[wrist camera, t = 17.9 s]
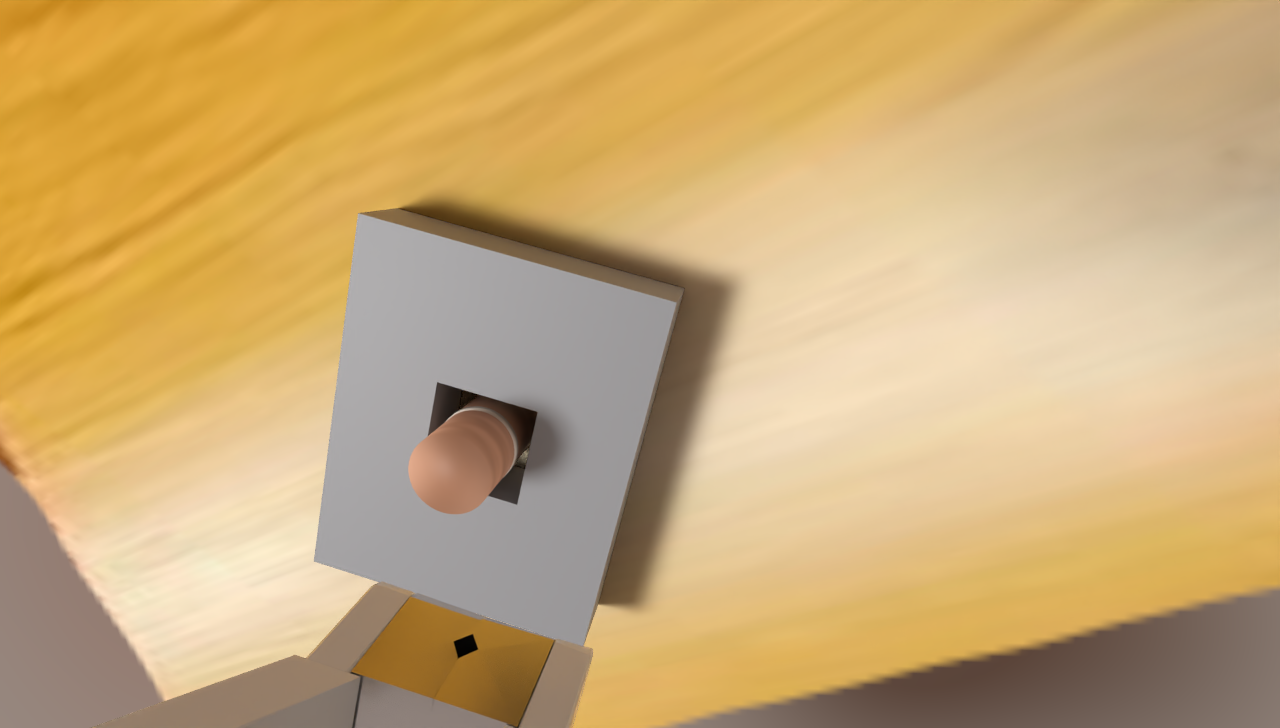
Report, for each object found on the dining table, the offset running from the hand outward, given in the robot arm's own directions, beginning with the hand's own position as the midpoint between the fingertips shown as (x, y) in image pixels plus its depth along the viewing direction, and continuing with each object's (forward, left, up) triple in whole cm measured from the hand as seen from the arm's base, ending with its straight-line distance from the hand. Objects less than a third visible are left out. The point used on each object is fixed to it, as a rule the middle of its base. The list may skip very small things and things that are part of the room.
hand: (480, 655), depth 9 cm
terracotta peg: (+8, +10, -29) cm, 32 cm away
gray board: (+8, +10, -29) cm, 32 cm away
